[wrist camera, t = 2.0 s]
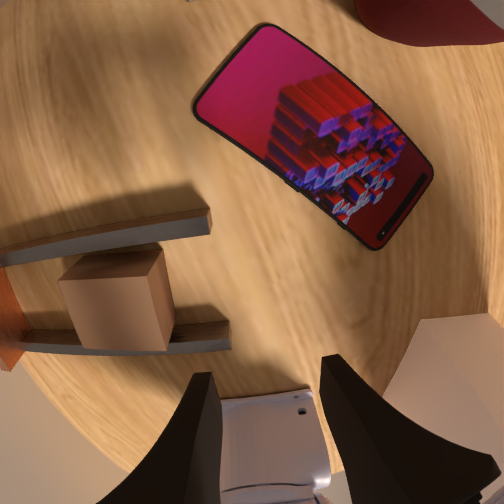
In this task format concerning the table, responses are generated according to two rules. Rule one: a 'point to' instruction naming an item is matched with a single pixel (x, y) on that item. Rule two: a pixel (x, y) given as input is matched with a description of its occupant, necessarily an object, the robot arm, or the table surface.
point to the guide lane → (88, 240)
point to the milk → (456, 384)
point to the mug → (434, 21)
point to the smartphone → (316, 133)
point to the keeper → (120, 301)
